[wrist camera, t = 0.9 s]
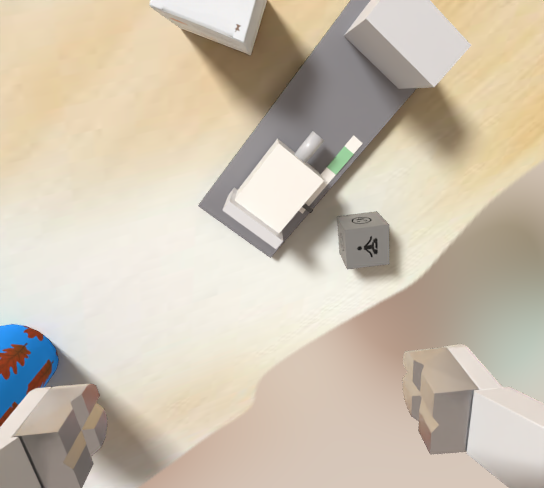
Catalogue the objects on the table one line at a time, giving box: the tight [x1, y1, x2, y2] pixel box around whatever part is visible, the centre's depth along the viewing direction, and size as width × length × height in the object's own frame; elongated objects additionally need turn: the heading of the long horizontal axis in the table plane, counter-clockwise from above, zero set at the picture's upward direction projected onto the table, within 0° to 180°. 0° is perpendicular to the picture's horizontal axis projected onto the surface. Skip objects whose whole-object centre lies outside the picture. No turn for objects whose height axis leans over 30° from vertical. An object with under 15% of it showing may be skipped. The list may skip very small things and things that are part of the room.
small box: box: [150, 0, 267, 55], centre depth 33 cm, size 8×6×10 cm
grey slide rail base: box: [198, 0, 471, 258], centre depth 38 cm, size 28×11×10 cm, turn 142°
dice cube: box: [337, 211, 389, 269], centre depth 45 cm, size 5×5×5 cm
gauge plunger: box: [223, 131, 324, 249], centre depth 39 cm, size 12×9×6 cm
